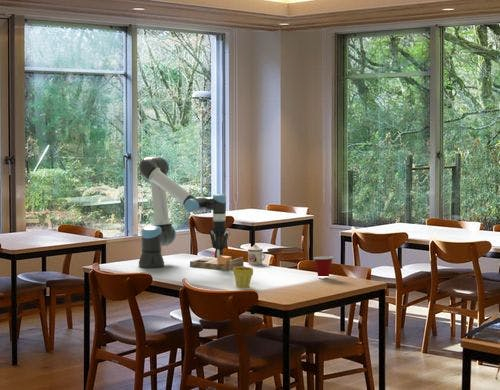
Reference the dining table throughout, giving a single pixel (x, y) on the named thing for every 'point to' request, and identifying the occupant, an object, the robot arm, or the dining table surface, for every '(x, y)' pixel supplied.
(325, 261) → the plastic cup
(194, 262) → the trap board
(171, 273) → the dining table surface
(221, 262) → the block
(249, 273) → the plant pot
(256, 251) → the teacup with lid
